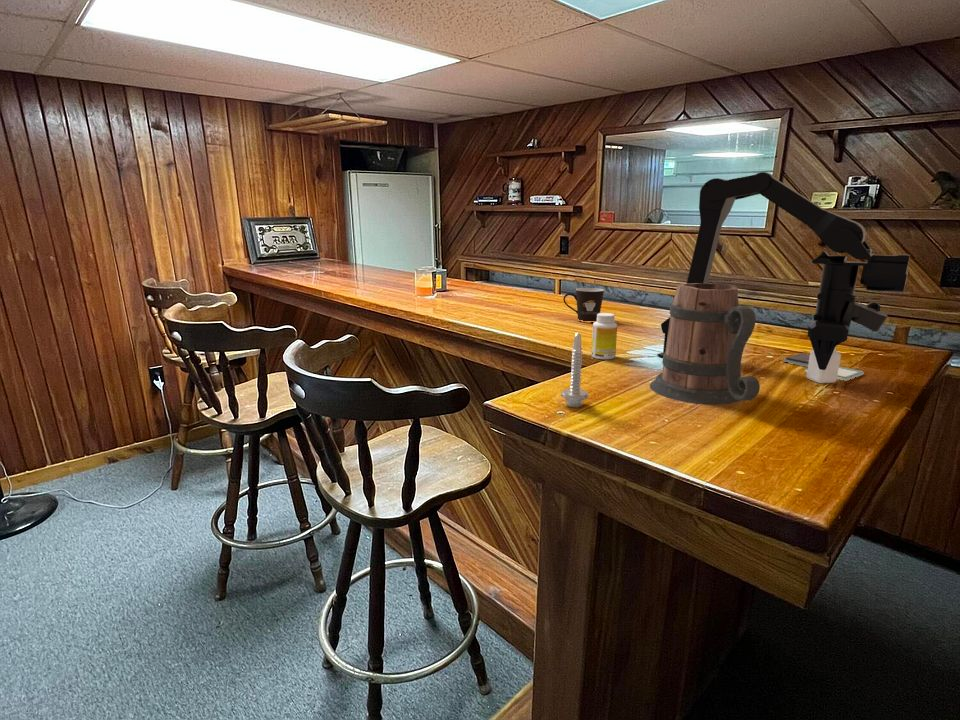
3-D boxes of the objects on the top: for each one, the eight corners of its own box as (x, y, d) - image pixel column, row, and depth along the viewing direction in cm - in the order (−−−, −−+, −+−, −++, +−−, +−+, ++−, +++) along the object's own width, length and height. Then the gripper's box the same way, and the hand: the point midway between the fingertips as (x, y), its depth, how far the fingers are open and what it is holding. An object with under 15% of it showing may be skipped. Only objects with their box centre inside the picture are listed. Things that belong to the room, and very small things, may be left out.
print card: (846, 381, 107) (846, 377, 107) (804, 371, 113) (804, 368, 113) (863, 374, 111) (863, 371, 111) (821, 366, 118) (822, 363, 118)
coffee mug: (606, 320, 169) (607, 289, 167) (596, 324, 162) (598, 292, 160) (571, 316, 175) (573, 286, 173) (561, 321, 168) (562, 289, 166)
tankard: (633, 379, 108) (641, 281, 103) (707, 374, 112) (718, 278, 106) (704, 421, 86) (718, 298, 81) (793, 413, 89) (813, 295, 84)
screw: (580, 399, 96) (593, 408, 92) (555, 401, 95) (567, 411, 91) (584, 329, 93) (597, 334, 88) (558, 330, 92) (571, 336, 87)
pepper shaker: (837, 383, 106) (846, 336, 103) (819, 384, 105) (827, 337, 102) (821, 377, 109) (829, 332, 107) (804, 378, 109) (812, 333, 106)
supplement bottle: (620, 359, 124) (623, 315, 121) (599, 361, 122) (602, 317, 119) (606, 353, 129) (609, 311, 126) (586, 355, 127) (588, 313, 124)
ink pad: (815, 369, 115) (816, 364, 115) (782, 362, 121) (783, 357, 120) (832, 363, 120) (833, 358, 119) (800, 357, 125) (800, 352, 125)
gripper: (890, 297, 90) (872, 385, 95) (887, 286, 105) (872, 362, 109) (814, 292, 97) (800, 374, 101) (821, 282, 111) (809, 354, 115)
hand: (823, 366), depth 106 cm, fingers closed on pepper shaker, 5 cm apart
